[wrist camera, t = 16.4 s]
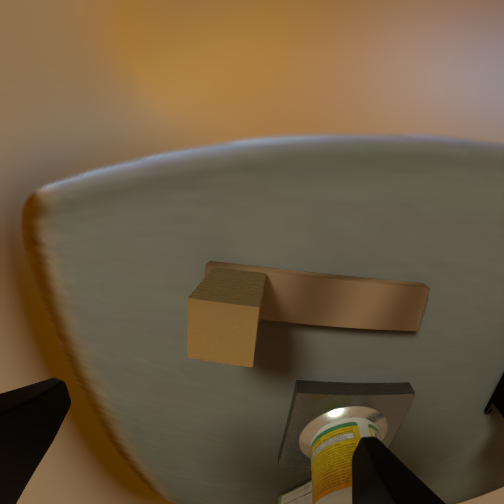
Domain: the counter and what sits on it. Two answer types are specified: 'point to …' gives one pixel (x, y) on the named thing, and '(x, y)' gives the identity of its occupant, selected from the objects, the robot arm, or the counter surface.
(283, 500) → the syrup box
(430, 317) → the counter surface
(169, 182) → the counter surface
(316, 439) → the supplement bottle
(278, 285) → the rail
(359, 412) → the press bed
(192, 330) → the handle
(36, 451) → the robot arm
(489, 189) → the counter surface
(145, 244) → the counter surface
